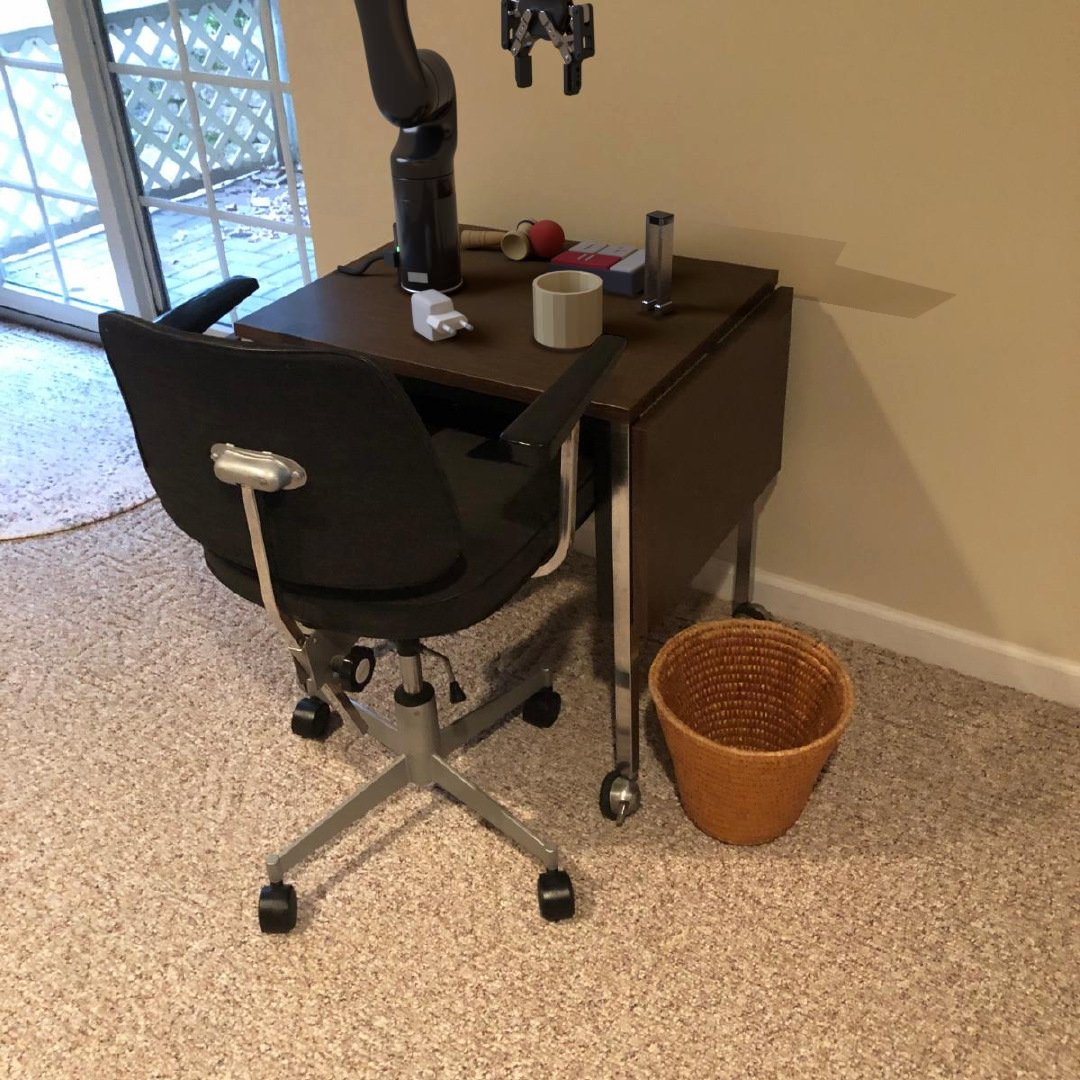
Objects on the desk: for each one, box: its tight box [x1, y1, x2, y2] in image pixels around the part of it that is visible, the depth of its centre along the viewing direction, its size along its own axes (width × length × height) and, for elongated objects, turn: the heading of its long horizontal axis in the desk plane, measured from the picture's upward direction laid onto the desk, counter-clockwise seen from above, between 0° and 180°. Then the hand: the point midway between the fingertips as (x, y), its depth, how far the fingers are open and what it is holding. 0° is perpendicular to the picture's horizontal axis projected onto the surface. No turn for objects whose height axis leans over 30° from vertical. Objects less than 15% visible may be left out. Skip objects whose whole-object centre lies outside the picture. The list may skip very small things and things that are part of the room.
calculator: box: [546, 241, 645, 296], centre depth 164 cm, size 11×4×15 cm
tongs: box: [641, 210, 675, 317], centre depth 149 cm, size 3×3×14 cm
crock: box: [532, 270, 604, 349], centre depth 144 cm, size 9×9×8 cm
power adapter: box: [410, 289, 474, 342], centre depth 145 cm, size 11×5×6 cm, turn 34°
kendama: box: [460, 217, 566, 261], centre depth 176 cm, size 8×6×18 cm
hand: (547, 90), depth 137 cm, fingers open, 8 cm apart
